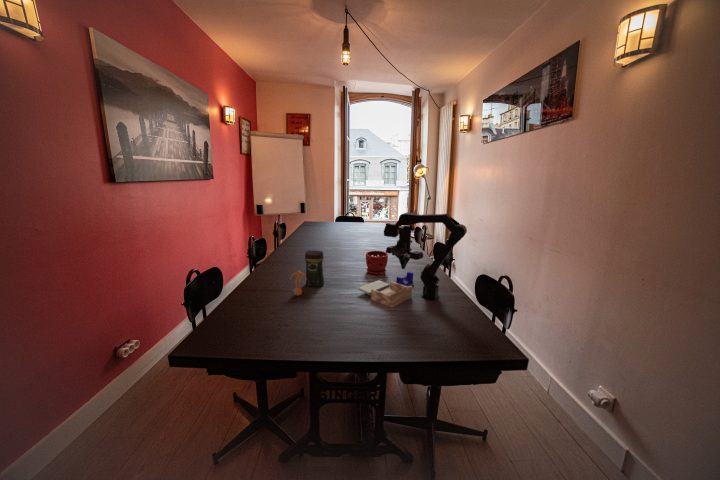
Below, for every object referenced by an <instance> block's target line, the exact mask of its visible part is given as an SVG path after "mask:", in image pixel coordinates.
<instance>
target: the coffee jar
mask: <svg viewBox="0 0 720 480" xmlns="http://www.w3.org/2000/svg"><path fill="white" fill-rule="evenodd" d="M324 257H325V256H324V251H323V250H311V249H308V250H306V251H305V254H304V261H305V267H306V268H305V276H306V278H307V281H306V278H304V279H305V281H304V282H305V283H304V284H305V285H306V286H307V287H314V288H315V287H317V288H319V287H322V286H324V283H325V278H324V277H325V276H324V268H323V263H324V262H323V261H324Z"/></svg>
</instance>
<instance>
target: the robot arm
mask: <svg viewBox="0 0 720 480" xmlns="http://www.w3.org/2000/svg"><path fill="white" fill-rule="evenodd" d="M437 223H438V224H439V223H440V224H441V223H442V224H443V225H444V226H445V228H446V229H447V230H448V231H449V232H450V234H449V236H448V238H447V241H446V243H445V244H444V245H443V246H442V248H441V250H440V251H439V253H438V254H437V256H436V257H435V258H434V260H433V261H432V263H431V264H430V263H427V264H426V265H425V266H424V268H423V270H422V271H421V272H420V280H421V282H422V284H423V287H422V295H421V298H423V299H425V300H429V301H432V302H433V301H435V300H437V299H439V298H440V295H439V289H440V286H439V285H438V284H439V283H440V280H441V279H440V278H439V277H438V276H437V274H438V271H439V268H440V266H441V265H442V264H443V262H444V261H445V259H447V256H448V255H449V254H450V252H452V249H453V248H454V247H455V245H457V244H458V243H459V242H460V241H461V240H462V239H463V238H464V236H465V235H466V234H467V232H468V230H467V227H466V225H464V224H460V222H458V221H457V220H456V219H454V218H453V217H452V216H451V215H450V214H449V213H439V214H438V213H437V214H435V213H433V214H432V213H431V214H419V213H413V212H403V213H402V214H400V216H399V217H398V221H397V222H396V223H390V222H386V223H385V226H384V229H383V236H384V237H388V238H397V237H398V240H397V241H396V244H395V245H390V246H387V247H386V249H385V252H386V253H387V254H391V255H392V256H395V258H398V260H399V264H400V267H401V269H402V270H405V268H406V267H407V265H408V263H409V261H410V260H415V261H418V260H421V259H424V253H423V251H418V250H415V251H413V250H412V248H411V244H412V243H413V240H412V232H414V231H416V229H417V228H416V227H415V226H414V225H415V224H437Z"/></svg>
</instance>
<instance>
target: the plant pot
mask: <svg viewBox="0 0 720 480" xmlns="http://www.w3.org/2000/svg"><path fill="white" fill-rule="evenodd" d="M388 255H389V253H386V251H383V250H371V251H367V252H366V253H365V261H366V262H365V263H366V271H367V273H369V274H371V275H384V274H385V273H386V271H387V269H386V267H387V265H388V259H389V258H388V257H389V256H388Z"/></svg>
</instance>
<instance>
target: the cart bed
mask: <svg viewBox="0 0 720 480" xmlns="http://www.w3.org/2000/svg"><path fill="white" fill-rule="evenodd" d="M389 286H390V287H388V288H386V289H384V290H381V291H376V290H374V289H371V295H370V300H372V301H373V302H376V303H379V304H382V305H384V306H387V307H389V308H395V307H396V306H398V305H400V304H401V303H403V302H404V303H405V302H406V301H407V300H410V299H412V293H413V286H412V285H408V286H404V285H401V284H398V283H396V282H395V281H390V282H389Z"/></svg>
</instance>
